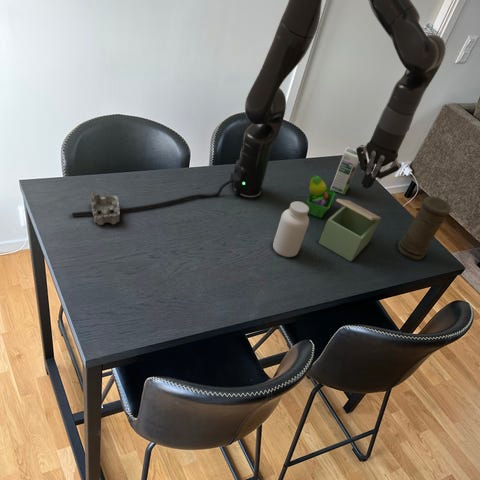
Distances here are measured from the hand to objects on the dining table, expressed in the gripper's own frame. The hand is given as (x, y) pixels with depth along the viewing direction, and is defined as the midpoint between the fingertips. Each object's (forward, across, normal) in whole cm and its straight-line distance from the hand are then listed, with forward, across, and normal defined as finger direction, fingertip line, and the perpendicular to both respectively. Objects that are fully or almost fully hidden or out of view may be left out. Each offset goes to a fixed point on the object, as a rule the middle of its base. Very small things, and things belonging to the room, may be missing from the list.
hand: (365, 187), depth 127 cm
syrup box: (+22, -16, +32) cm, 42 cm away
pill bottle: (+22, -12, -14) cm, 28 cm away
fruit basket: (+22, -16, +13) cm, 30 cm away
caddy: (+22, 0, +4) cm, 22 cm away
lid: (+10, 0, +4) cm, 11 cm away
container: (+22, +18, +18) cm, 34 cm away
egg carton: (+22, -56, -41) cm, 73 cm away
